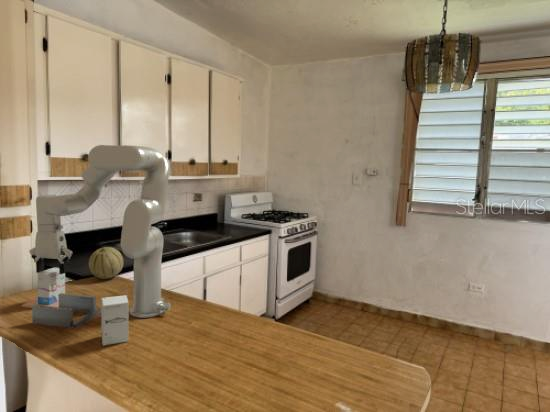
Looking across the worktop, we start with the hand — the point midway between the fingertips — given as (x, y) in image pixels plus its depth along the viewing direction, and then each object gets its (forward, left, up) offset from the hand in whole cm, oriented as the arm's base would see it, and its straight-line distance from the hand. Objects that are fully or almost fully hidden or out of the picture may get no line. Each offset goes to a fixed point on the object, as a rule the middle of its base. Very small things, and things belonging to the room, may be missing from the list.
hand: (51, 272), depth 139 cm
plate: (+1, 0, -12) cm, 12 cm away
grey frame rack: (-14, +11, -12) cm, 22 cm away
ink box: (0, 0, -11) cm, 11 cm away
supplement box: (-39, +21, -12) cm, 46 cm away
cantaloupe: (-1, -33, -12) cm, 35 cm away
